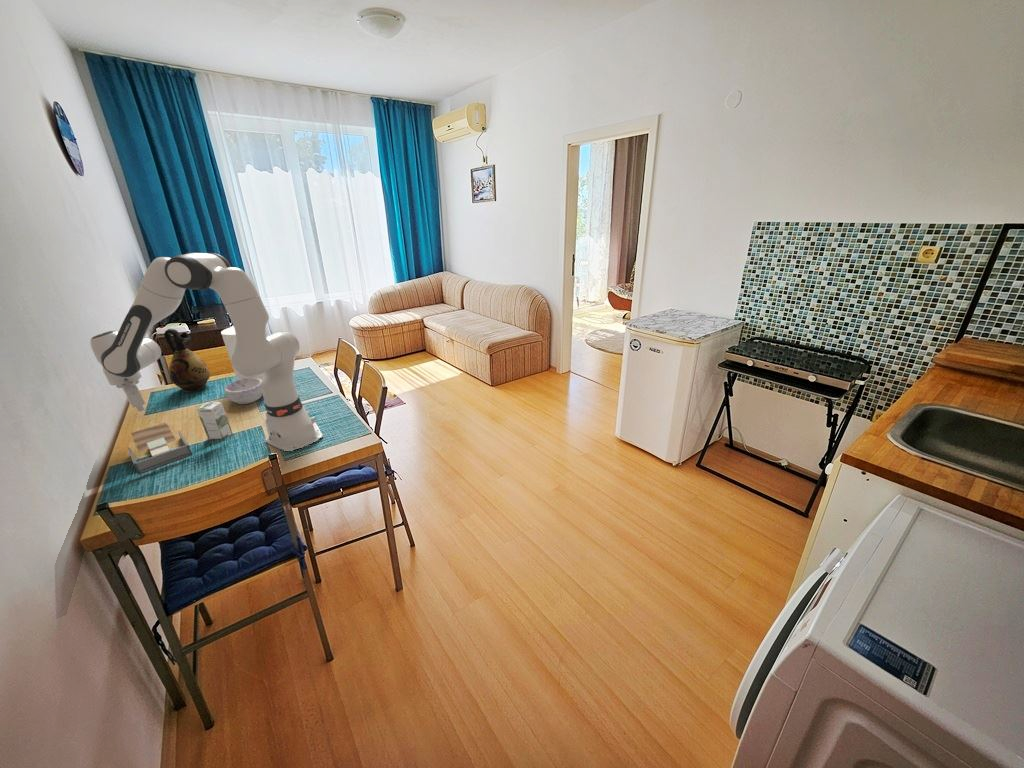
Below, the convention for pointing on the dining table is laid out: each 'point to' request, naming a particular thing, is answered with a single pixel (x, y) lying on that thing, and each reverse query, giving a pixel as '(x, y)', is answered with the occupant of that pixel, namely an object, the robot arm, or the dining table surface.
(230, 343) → the cylinder
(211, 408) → the syrup box
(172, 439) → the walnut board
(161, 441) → the sage tile
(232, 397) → the white purple floral bowl
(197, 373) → the ceramic jug
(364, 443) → the dining table surface
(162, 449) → the cream tile
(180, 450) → the grey bin
